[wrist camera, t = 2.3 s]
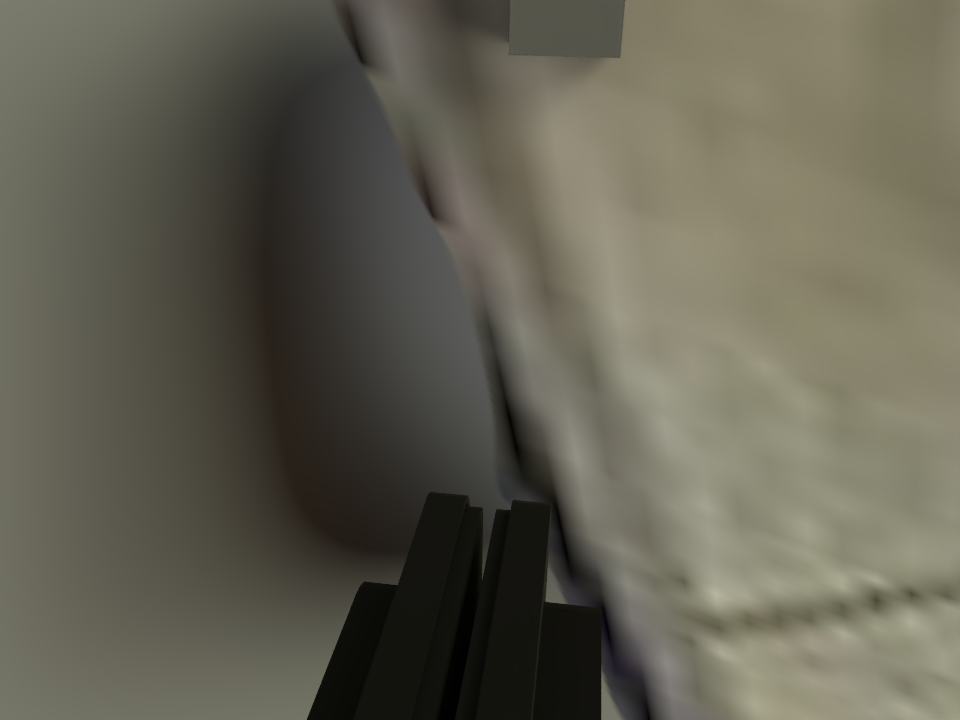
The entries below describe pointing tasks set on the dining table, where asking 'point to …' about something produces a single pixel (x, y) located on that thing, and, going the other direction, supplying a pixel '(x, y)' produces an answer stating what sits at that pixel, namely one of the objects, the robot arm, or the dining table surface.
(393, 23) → the dining table surface
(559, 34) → the plug
